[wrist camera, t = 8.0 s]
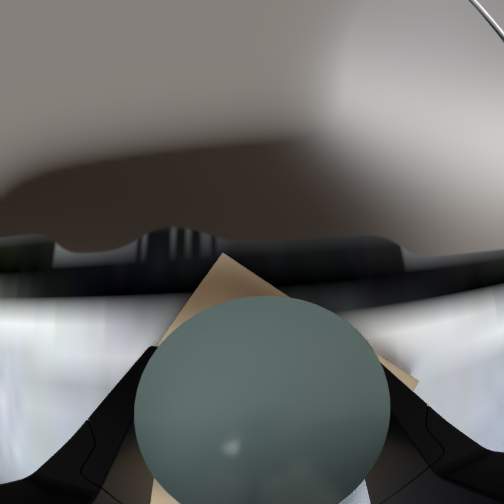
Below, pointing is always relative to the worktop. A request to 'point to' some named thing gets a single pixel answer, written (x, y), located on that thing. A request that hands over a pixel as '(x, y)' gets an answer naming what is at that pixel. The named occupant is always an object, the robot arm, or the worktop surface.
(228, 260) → the oak board
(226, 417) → the ceramic jar
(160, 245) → the worktop surface
